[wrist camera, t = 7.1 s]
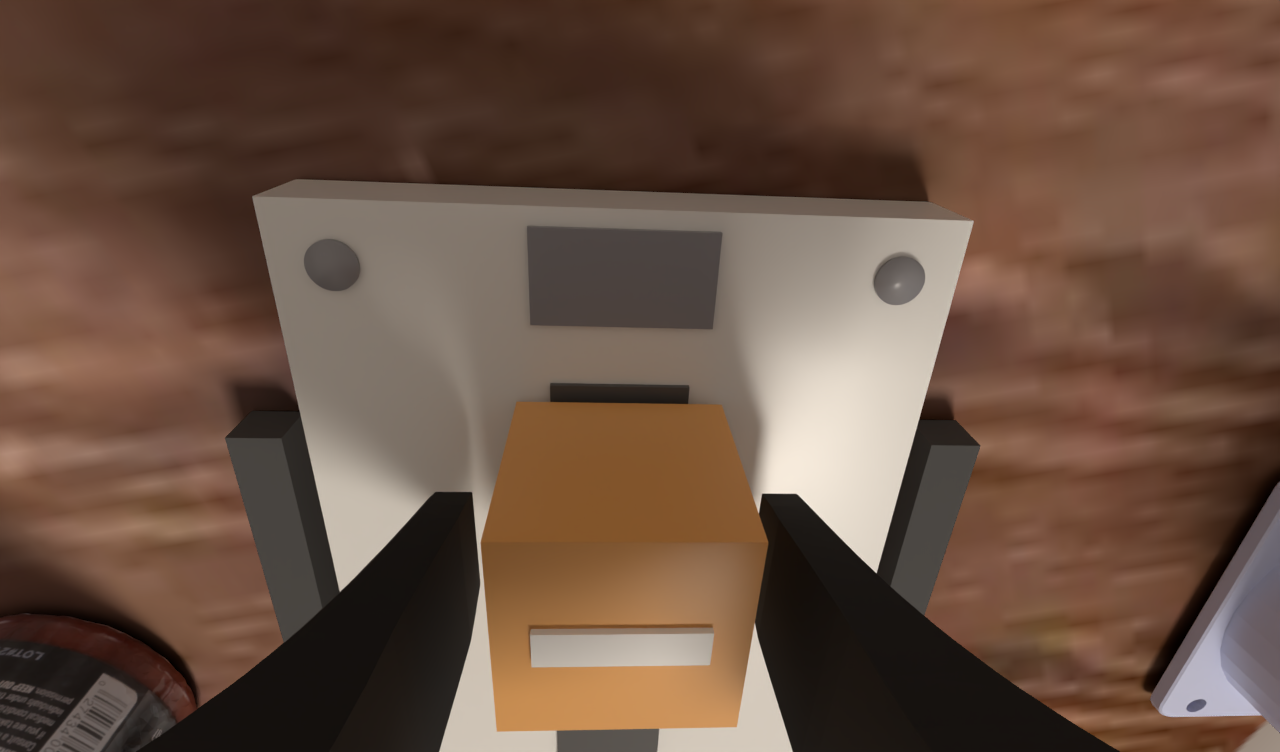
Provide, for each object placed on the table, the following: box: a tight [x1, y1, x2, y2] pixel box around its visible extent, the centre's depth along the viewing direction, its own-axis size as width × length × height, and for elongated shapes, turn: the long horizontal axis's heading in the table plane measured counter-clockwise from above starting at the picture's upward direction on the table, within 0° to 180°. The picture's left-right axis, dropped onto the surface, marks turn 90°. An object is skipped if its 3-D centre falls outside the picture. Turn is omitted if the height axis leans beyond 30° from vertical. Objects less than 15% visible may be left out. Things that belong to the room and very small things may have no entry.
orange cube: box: [480, 402, 768, 732], centre depth 10 cm, size 4×4×4 cm
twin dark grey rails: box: [225, 411, 980, 642], centre depth 14 cm, size 14×8×1 cm, turn 87°
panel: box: [252, 179, 974, 752], centre depth 14 cm, size 11×17×2 cm, turn 177°
